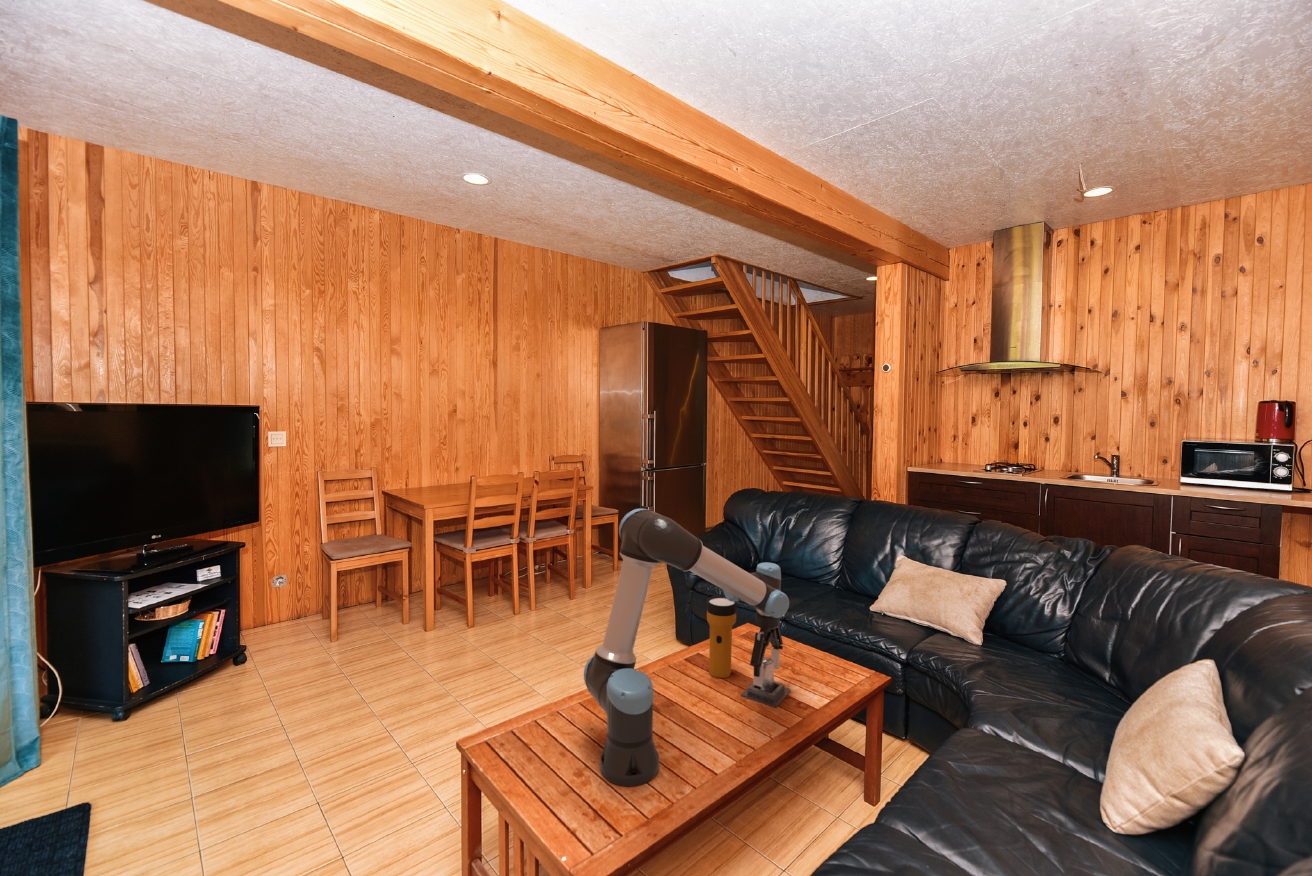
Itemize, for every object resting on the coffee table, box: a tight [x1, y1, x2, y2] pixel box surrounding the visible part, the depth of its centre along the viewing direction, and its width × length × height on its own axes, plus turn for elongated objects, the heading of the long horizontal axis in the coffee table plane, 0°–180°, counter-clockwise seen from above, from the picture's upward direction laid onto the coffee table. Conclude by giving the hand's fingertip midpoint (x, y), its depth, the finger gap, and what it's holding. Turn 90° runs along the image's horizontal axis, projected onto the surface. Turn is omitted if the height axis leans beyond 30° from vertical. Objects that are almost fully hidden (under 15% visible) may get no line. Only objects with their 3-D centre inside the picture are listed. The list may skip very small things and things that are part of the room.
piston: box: [758, 656, 775, 693], centre depth 181 cm, size 5×5×11 cm
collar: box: [740, 680, 792, 709], centre depth 181 cm, size 12×12×3 cm
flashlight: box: [706, 595, 737, 679], centre depth 194 cm, size 10×26×10 cm
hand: (766, 676), depth 181 cm, fingers open, 13 cm apart
